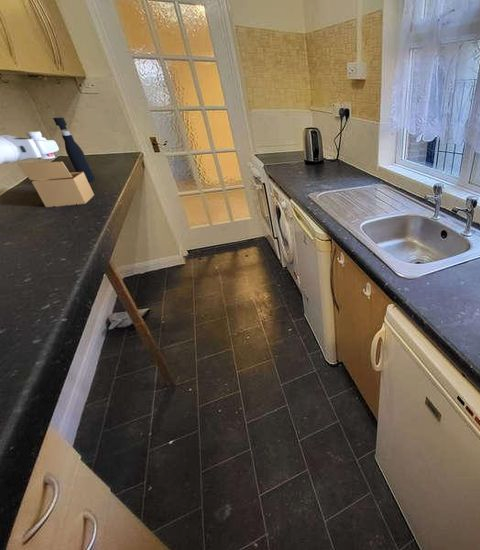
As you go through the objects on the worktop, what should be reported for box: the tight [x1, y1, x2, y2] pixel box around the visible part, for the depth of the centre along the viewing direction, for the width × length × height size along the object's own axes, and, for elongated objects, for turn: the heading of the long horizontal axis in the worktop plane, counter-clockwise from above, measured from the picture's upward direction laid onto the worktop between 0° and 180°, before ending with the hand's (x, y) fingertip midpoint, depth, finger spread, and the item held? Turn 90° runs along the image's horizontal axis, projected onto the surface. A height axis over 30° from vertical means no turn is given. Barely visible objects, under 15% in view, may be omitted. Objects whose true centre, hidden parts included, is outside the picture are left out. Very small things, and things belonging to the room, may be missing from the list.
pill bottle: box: [25, 130, 56, 160], centre depth 117 cm, size 5×5×10 cm
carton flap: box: [17, 161, 72, 181], centre depth 116 cm, size 7×13×1 cm
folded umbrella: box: [53, 117, 97, 182], centre depth 151 cm, size 6×6×30 cm
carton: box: [31, 171, 95, 208], centre depth 127 cm, size 14×13×10 cm
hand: (41, 143), depth 117 cm, fingers closed on pill bottle, 5 cm apart
